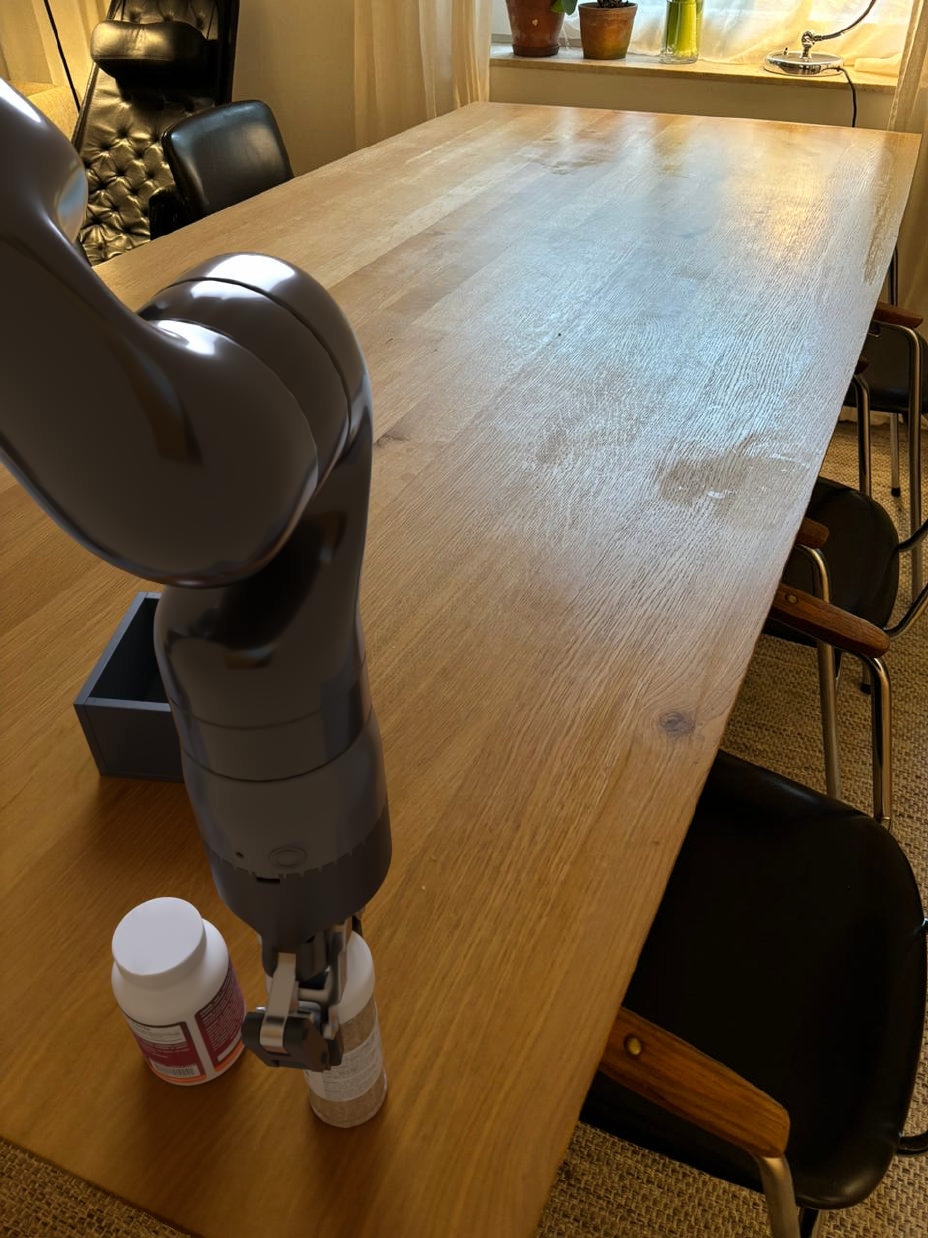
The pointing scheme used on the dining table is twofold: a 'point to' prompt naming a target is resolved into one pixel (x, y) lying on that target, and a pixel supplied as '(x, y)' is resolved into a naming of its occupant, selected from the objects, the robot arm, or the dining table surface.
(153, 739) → the dark grey open box
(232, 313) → the robot arm
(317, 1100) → the sprinkles bottle
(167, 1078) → the pill bottle
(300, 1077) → the dining table surface
